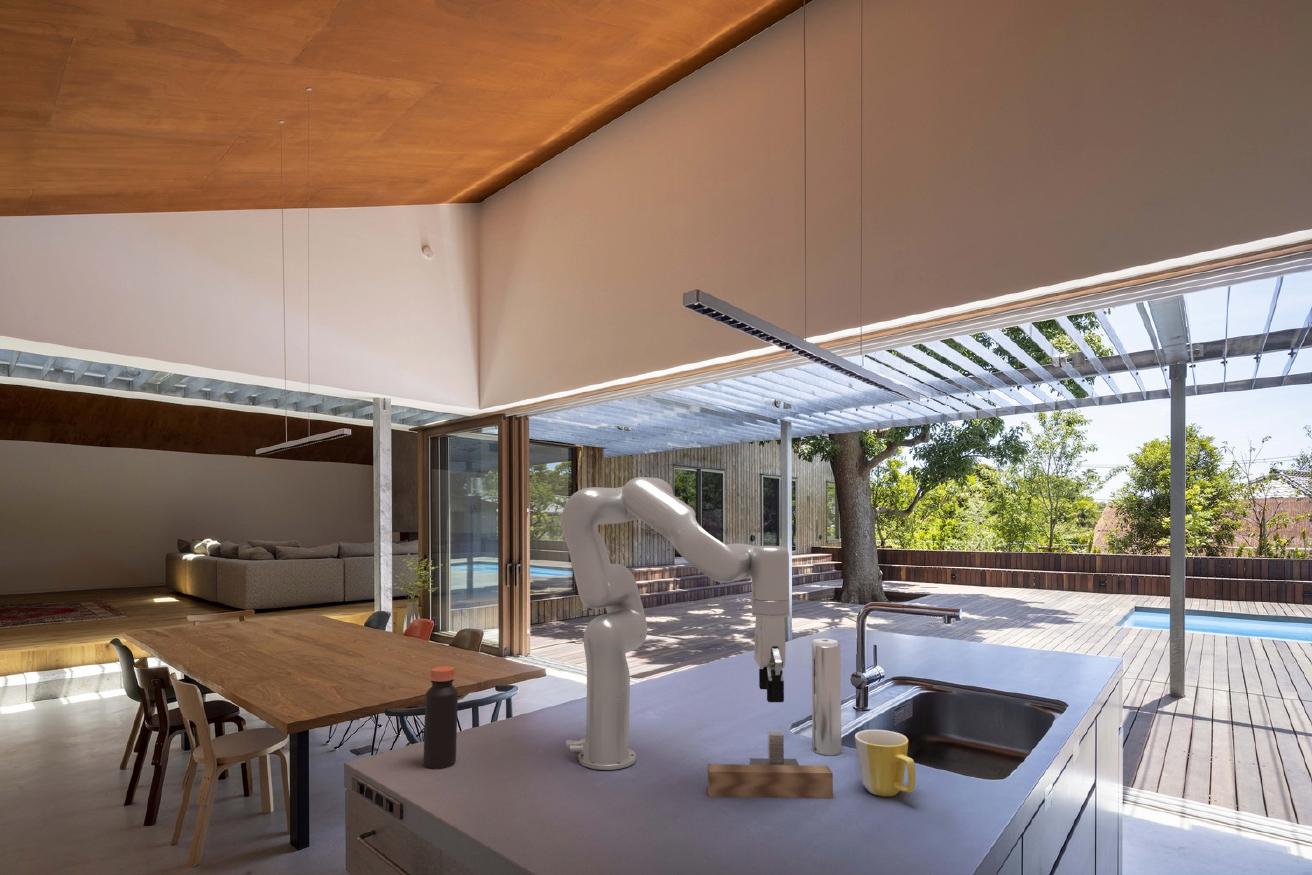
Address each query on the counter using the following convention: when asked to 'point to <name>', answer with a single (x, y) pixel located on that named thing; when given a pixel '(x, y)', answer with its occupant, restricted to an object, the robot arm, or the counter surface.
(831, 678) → the silver metal cylinder
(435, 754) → the bottle
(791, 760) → the ridge
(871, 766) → the mug
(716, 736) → the counter surface
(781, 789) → the walnut beam
